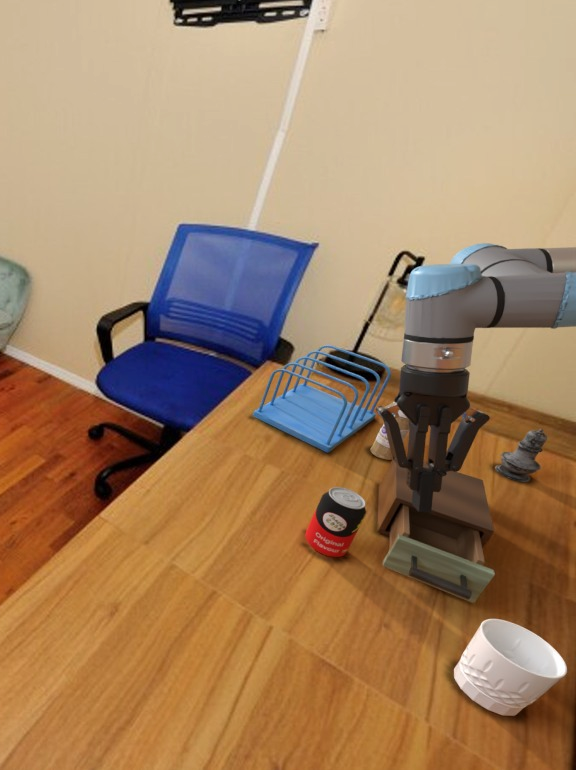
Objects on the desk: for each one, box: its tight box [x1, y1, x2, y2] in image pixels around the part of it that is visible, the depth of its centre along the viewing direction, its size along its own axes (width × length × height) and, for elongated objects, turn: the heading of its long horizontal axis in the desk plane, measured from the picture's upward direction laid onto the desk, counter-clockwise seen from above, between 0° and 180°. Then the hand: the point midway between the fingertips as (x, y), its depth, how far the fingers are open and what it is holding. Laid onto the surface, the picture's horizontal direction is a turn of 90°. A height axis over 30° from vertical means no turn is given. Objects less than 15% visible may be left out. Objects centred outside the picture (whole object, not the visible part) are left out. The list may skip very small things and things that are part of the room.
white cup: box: [453, 618, 568, 717], centre depth 68 cm, size 8×8×10 cm
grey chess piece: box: [494, 428, 548, 483], centre depth 106 cm, size 6×6×12 cm
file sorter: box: [252, 344, 392, 454], centre depth 124 cm, size 25×17×15 cm
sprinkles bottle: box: [369, 401, 410, 461], centre depth 112 cm, size 5×5×14 cm
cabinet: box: [376, 455, 495, 550], centre depth 95 cm, size 16×13×9 cm
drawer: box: [382, 503, 496, 604], centre depth 86 cm, size 19×12×7 cm, turn 141°
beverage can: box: [304, 486, 367, 558], centre depth 90 cm, size 6×6×12 cm
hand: (421, 508), depth 81 cm, fingers closed
